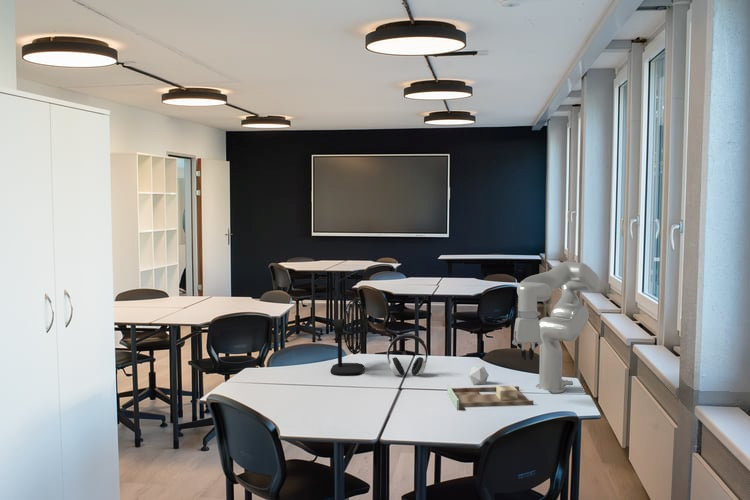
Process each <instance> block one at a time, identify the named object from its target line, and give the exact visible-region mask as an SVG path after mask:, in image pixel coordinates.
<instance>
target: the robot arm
mask: <svg viewBox="0 0 750 500" xmlns="http://www.w3.org/2000/svg"><path fill="white" fill-rule="evenodd" d="M600 284H601V281H600V278H599V276H598V274H597V273H596V272H595V270H593V269H592V268H591V267H590V266H589V265H587V264H586V263H583V262H576V261H573V262H572V261H563V262H560V263H559V264H556V265H555V266H554V267H552V268H551V269H549V270H548V271H545V272H541V273H538V274H534V275H530V276H528V277H525V278H524V279H523V280H521V281H520V282H519V283H518V286H517V288H516V293H517V296H518V297H517V299H518V301H517V302H518V305H517V308H518V309H517V312H518V313H517V317H516V318H515V323H514V329H513V340H512V342H511V343H512V345H514V346H516V347H518V348H519V349H520V358H522V360H523V361H526V360H527V359H526V357H527V353H526V352H527V351H526V349H525V346H526V345H525V344H529V349H528V359H529V360H531V361H533V359H534V357H535V356H534V355H535V354H534V353H535V350H536V348H537V347H538V346H539V371H538V372H539V374H538V375H539V376H538V377H539V379H538V380H539V382H538V384H536V385H535V387H536V388H537V389H539V390H542V391H548V392H549V393H550V394H560V393H564V392H566V387H567V386H573V385H574V382H573V380H568V379H563V348H562V345H561V343H560V342H564V343H565V342H567V343H572V342H575V341H576V340H577V339H578V338H579V336H580V335H581V333H582V332H583V330H585V329H584V328H585V327H586V326H587V324H588V322H589V316H590V314H589V310H588V308H587V307H586V306H584V305H583V304H580V303H581V302H580V299H579V297H578V295H577V294H576V292H583V293H595V292H596V291H597V290H599V288H600ZM560 288H561V297H560V299H559V300H558V302H557V303H556V304H555V306H554V307H553V308H552V310H551V313H550V316H545V317H541V319H539V317H538V316H541V311H538V302H547V301H548V300H549V299H550V298H551V297H552V295H553V291H554V290H559V289H560ZM597 292H598V291H597Z"/></svg>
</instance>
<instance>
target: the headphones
mask: <svg viewBox="0 0 750 500" xmlns="http://www.w3.org/2000/svg"><path fill="white" fill-rule="evenodd" d="M403 339H411V340H412V339H413V340H414V341H417V342H418V343H419V344H421V345H422V347H423V348H424V351H425V352H424V353H425V358H423V357H421V356H419V357H417V358H416V359H415V361H414V362H413V365H412V367H411V372H410V373H411V374H412V375H413V376H419V375H423V373H424V372H425V369H426V366H427V361H428V356H429V353H428V348H427V345H426V343H425V341H424V340H423V339H422V338H421V337H420V336H418V335H417V334H416V335H415V334H413V333H402V334H400V335H397V336H395V337H394V338H393V339H392V340H391V341H390V343H389V344H388V347H387V350H386V358H387V362H388V366H389V367H390V370H391V372H392V373H393V374H394V375H395V376H399V377H401V376H403V375H405V369H404V367H403V365H402V364H401V362H400V360H399V359H398V358H397V357H396V356H395V357H392V358H391V359H390V352H391V349H392V347H393V346H394V345H395V344H396V343H397V342H398V341H400V340H403Z"/></svg>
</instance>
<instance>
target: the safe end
mask: <svg viewBox="0 0 750 500" xmlns="http://www.w3.org/2000/svg"><path fill="white" fill-rule="evenodd" d="M451 388H452V387H451V386H450V384H449V385H447V394H446V395H447V396H448V398H449V400H450V401H451V403H452V404H453V406H454V408H455V409H456V410H457V411H460V410H459V399H458V398H457V396H456V395H455V393H454V392H453V390H452V389H451Z"/></svg>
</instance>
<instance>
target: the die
mask: <svg viewBox="0 0 750 500" xmlns="http://www.w3.org/2000/svg"><path fill="white" fill-rule="evenodd" d="M468 378H469V380H470V381H471V383H472V385H473V386H485V385H486V383H487V381H488V378H489V373H488V371H487V370H486V368H485V366H472V367H471V370H470V372H469V376H468Z"/></svg>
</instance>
